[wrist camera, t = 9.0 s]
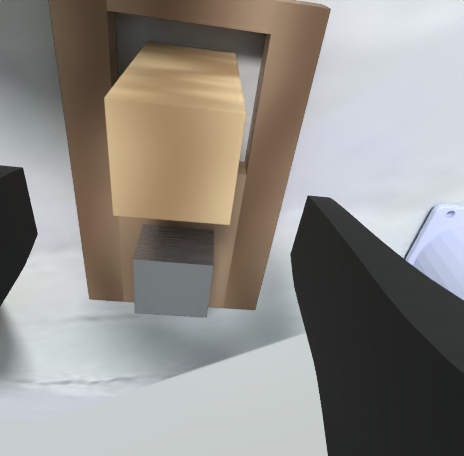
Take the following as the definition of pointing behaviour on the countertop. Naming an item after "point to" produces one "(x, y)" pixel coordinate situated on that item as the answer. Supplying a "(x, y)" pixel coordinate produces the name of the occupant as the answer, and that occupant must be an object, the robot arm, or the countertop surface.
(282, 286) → the countertop surface
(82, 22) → the brown wooden frame
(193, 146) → the oak peg
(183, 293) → the gray cube
